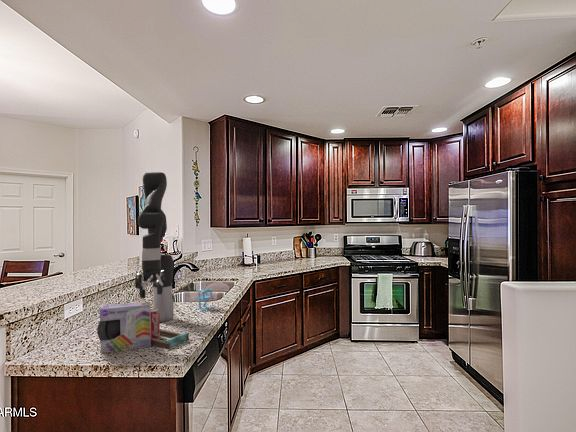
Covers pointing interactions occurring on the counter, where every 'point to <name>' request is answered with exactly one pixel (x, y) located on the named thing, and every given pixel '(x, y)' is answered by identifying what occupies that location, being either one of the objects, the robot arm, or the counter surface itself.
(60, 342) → the counter surface
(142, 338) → the cake pan box
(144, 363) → the counter surface
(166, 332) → the guide channel
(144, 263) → the robot arm
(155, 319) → the beverage can
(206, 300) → the light blue translucent piece
